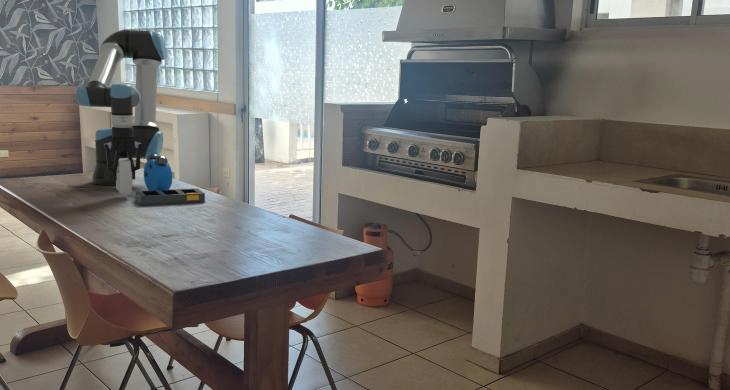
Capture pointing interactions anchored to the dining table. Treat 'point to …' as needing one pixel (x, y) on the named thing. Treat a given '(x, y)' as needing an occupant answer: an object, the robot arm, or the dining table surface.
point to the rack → (170, 197)
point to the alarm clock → (157, 173)
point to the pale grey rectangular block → (124, 175)
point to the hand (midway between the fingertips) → (124, 188)
